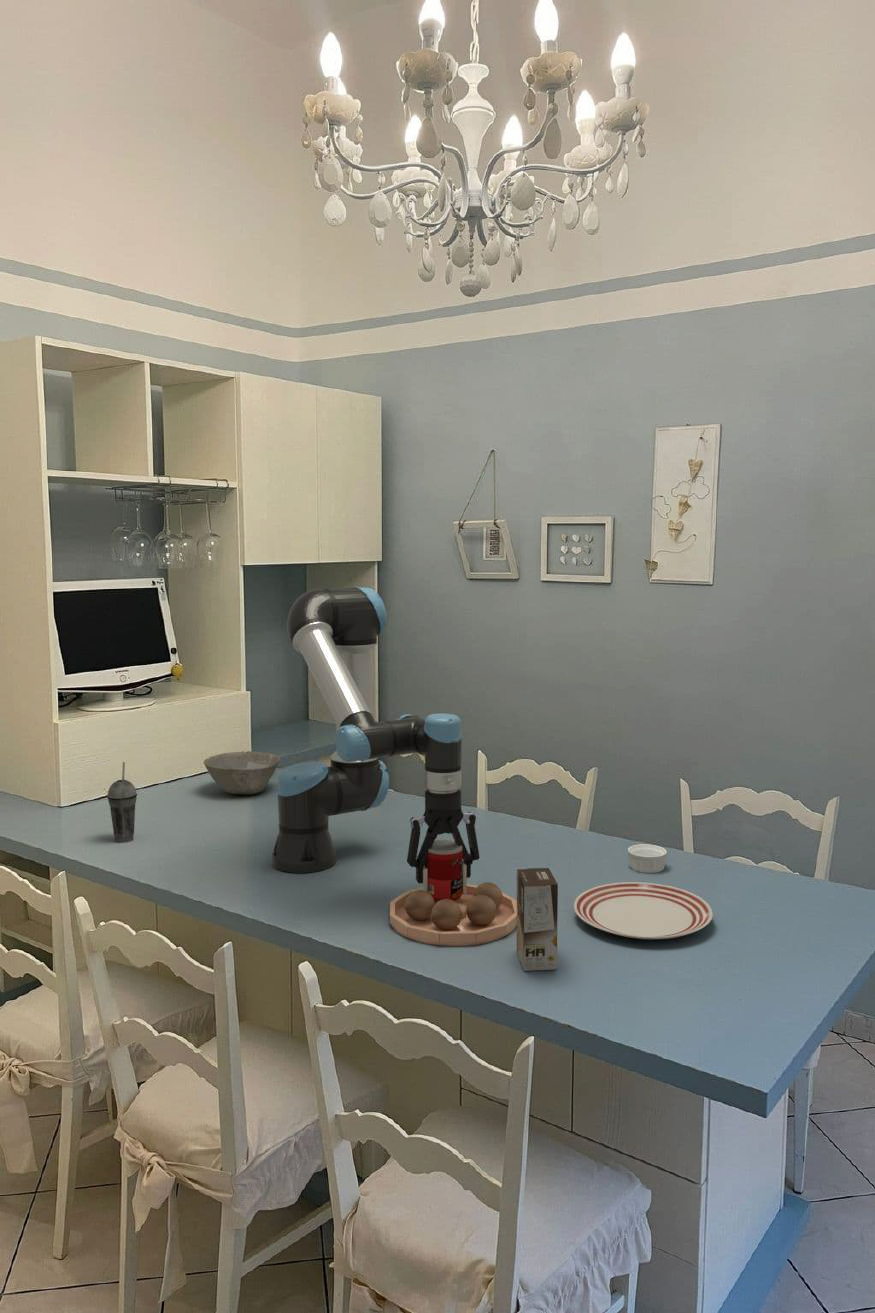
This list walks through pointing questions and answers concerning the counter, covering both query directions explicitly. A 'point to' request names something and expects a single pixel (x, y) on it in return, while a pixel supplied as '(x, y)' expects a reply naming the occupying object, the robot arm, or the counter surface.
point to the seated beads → (455, 907)
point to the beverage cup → (122, 808)
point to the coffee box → (537, 919)
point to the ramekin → (647, 858)
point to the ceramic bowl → (242, 771)
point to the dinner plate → (643, 910)
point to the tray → (463, 932)
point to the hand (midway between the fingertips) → (443, 894)
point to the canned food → (444, 870)
